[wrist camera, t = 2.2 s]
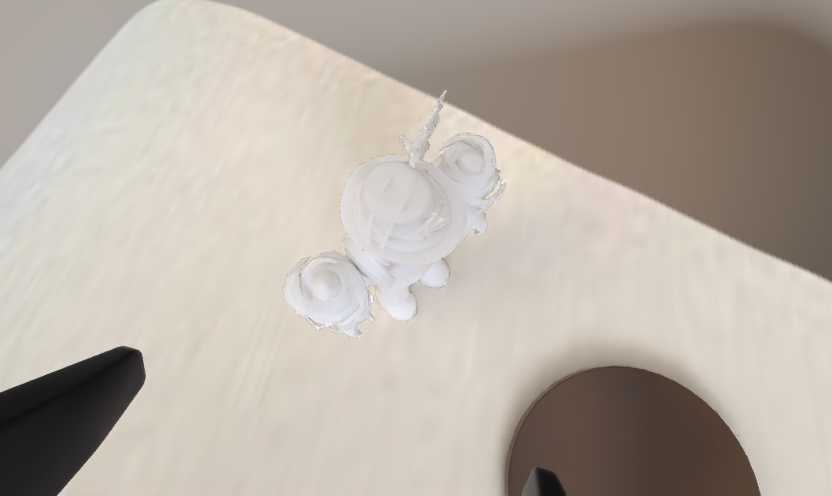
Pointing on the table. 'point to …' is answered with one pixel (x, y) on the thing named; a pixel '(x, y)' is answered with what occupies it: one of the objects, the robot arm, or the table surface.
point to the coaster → (628, 439)
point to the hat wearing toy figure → (398, 230)
